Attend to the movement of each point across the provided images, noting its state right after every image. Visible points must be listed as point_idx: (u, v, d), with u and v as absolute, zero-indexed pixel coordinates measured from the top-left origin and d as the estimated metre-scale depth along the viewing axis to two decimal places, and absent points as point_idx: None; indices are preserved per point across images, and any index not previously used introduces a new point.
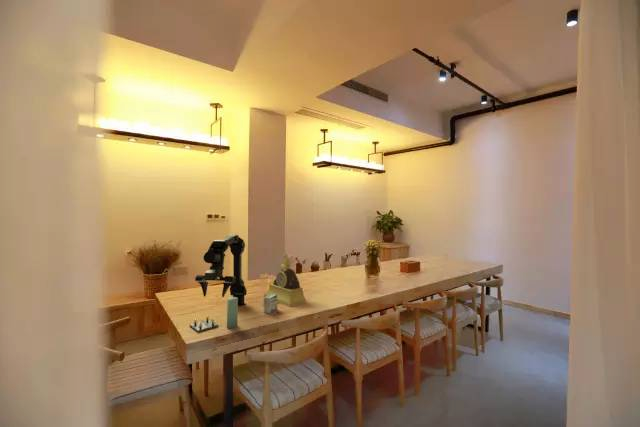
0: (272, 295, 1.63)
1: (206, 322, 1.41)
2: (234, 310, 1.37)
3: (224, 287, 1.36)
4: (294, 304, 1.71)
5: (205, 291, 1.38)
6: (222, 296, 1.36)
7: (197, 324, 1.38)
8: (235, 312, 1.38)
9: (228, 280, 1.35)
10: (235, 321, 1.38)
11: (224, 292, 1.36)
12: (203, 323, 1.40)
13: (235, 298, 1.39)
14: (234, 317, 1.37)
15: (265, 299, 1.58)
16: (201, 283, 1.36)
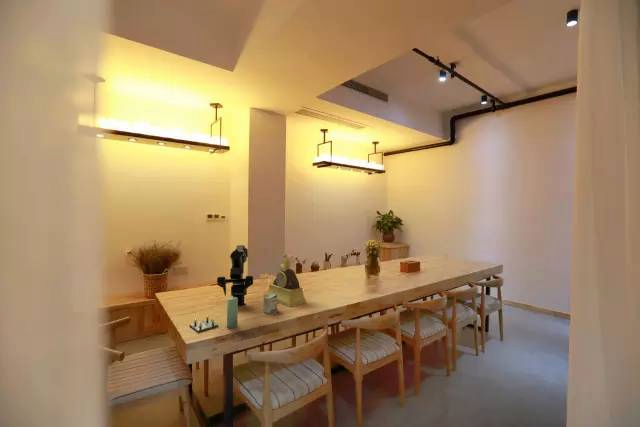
0: (272, 295, 1.63)
1: (206, 322, 1.41)
2: (234, 310, 1.37)
3: (245, 285, 1.50)
4: (294, 304, 1.71)
5: (225, 291, 1.48)
6: (243, 293, 1.48)
7: (197, 324, 1.38)
8: (235, 312, 1.38)
9: (249, 278, 1.52)
10: (235, 321, 1.38)
11: (245, 290, 1.49)
12: (203, 323, 1.40)
13: (235, 298, 1.39)
14: (234, 317, 1.37)
15: (265, 299, 1.58)
16: (223, 282, 1.48)
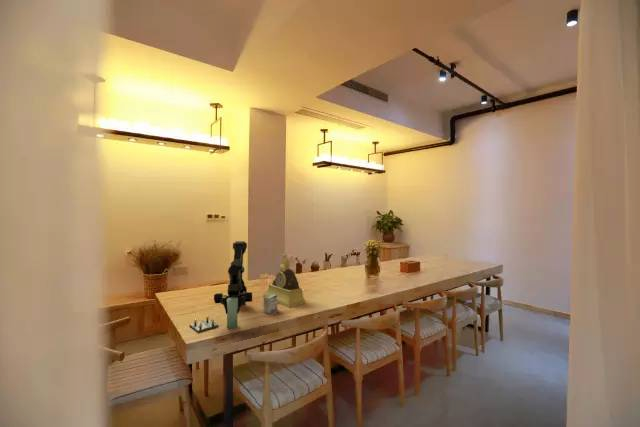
0: (272, 295, 1.63)
1: (206, 322, 1.41)
2: (234, 310, 1.37)
3: (240, 303, 1.40)
4: (293, 305, 1.70)
5: None
6: (237, 312, 1.38)
7: (197, 324, 1.38)
8: (235, 312, 1.38)
9: (248, 294, 1.42)
10: (235, 321, 1.38)
11: (239, 308, 1.39)
12: (203, 323, 1.40)
13: (235, 298, 1.39)
14: (234, 317, 1.37)
15: (265, 299, 1.58)
16: (224, 299, 1.39)
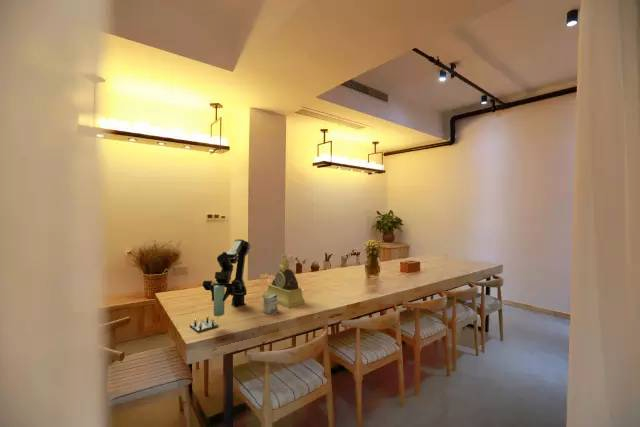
0: (272, 295, 1.63)
1: (206, 322, 1.41)
2: (220, 298, 1.36)
3: (226, 291, 1.39)
4: (292, 305, 1.69)
5: None
6: (223, 299, 1.36)
7: (197, 324, 1.38)
8: (221, 300, 1.36)
9: (236, 283, 1.40)
10: (221, 309, 1.36)
11: (226, 296, 1.38)
12: (203, 323, 1.40)
13: (222, 286, 1.38)
14: (220, 305, 1.36)
15: (265, 299, 1.58)
16: (212, 287, 1.39)
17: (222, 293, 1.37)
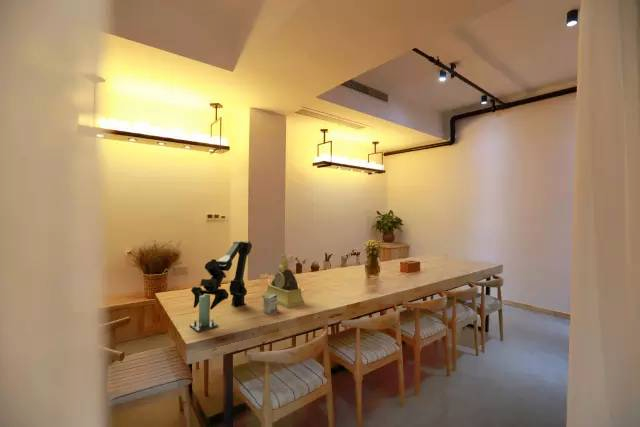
0: (272, 295, 1.63)
1: None
2: (204, 308, 1.36)
3: (215, 299, 1.38)
4: (292, 305, 1.69)
5: (196, 303, 1.40)
6: (210, 308, 1.36)
7: (197, 324, 1.38)
8: (205, 310, 1.37)
9: (220, 291, 1.39)
10: (205, 319, 1.37)
11: (213, 304, 1.37)
12: None
13: (207, 296, 1.38)
14: (203, 315, 1.36)
15: (265, 299, 1.58)
16: (195, 293, 1.41)
17: (206, 303, 1.37)
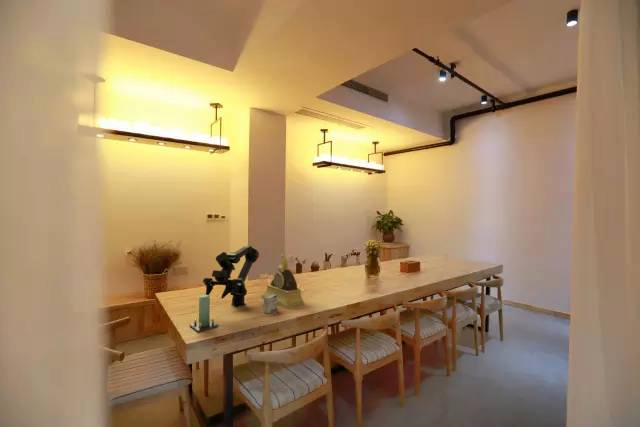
0: (272, 295, 1.63)
1: None
2: (204, 308, 1.36)
3: (225, 289, 1.47)
4: (291, 306, 1.68)
5: (208, 292, 1.49)
6: (221, 297, 1.45)
7: (197, 324, 1.38)
8: (204, 310, 1.36)
9: (230, 282, 1.48)
10: (204, 319, 1.36)
11: (224, 293, 1.46)
12: None
13: (207, 296, 1.38)
14: (203, 315, 1.36)
15: (265, 299, 1.58)
16: (207, 284, 1.50)
17: (206, 304, 1.37)
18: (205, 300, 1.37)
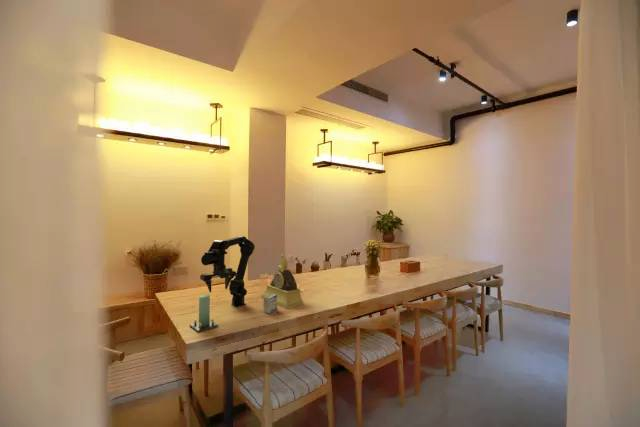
0: (272, 295, 1.63)
1: None
2: (204, 308, 1.36)
3: (228, 281, 1.58)
4: (291, 306, 1.68)
5: None
6: (226, 288, 1.58)
7: (197, 324, 1.38)
8: (204, 310, 1.36)
9: (234, 275, 1.59)
10: (204, 319, 1.36)
11: None
12: None
13: (207, 296, 1.38)
14: (203, 315, 1.36)
15: (265, 299, 1.58)
16: (210, 282, 1.50)
17: (206, 304, 1.37)
18: (205, 300, 1.37)
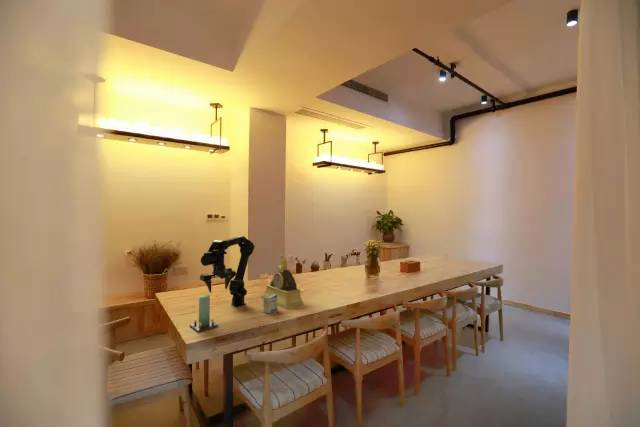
0: (272, 295, 1.63)
1: None
2: (204, 308, 1.36)
3: (228, 281, 1.58)
4: (290, 306, 1.68)
5: None
6: (226, 288, 1.58)
7: (197, 324, 1.38)
8: (204, 310, 1.36)
9: (234, 275, 1.59)
10: (204, 319, 1.36)
11: None
12: None
13: (207, 296, 1.38)
14: (203, 315, 1.36)
15: (265, 299, 1.58)
16: (210, 282, 1.50)
17: (206, 304, 1.37)
18: (205, 300, 1.37)
